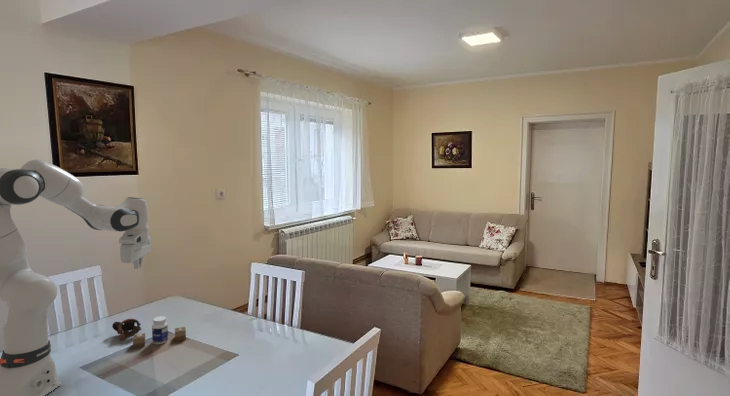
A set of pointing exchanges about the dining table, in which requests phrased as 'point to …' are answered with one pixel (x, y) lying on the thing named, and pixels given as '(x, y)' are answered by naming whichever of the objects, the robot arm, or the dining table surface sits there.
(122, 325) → the pottery mug
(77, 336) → the dining table surface
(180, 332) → the walnut block bar
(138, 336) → the walnut block dot
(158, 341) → the pill bottle
